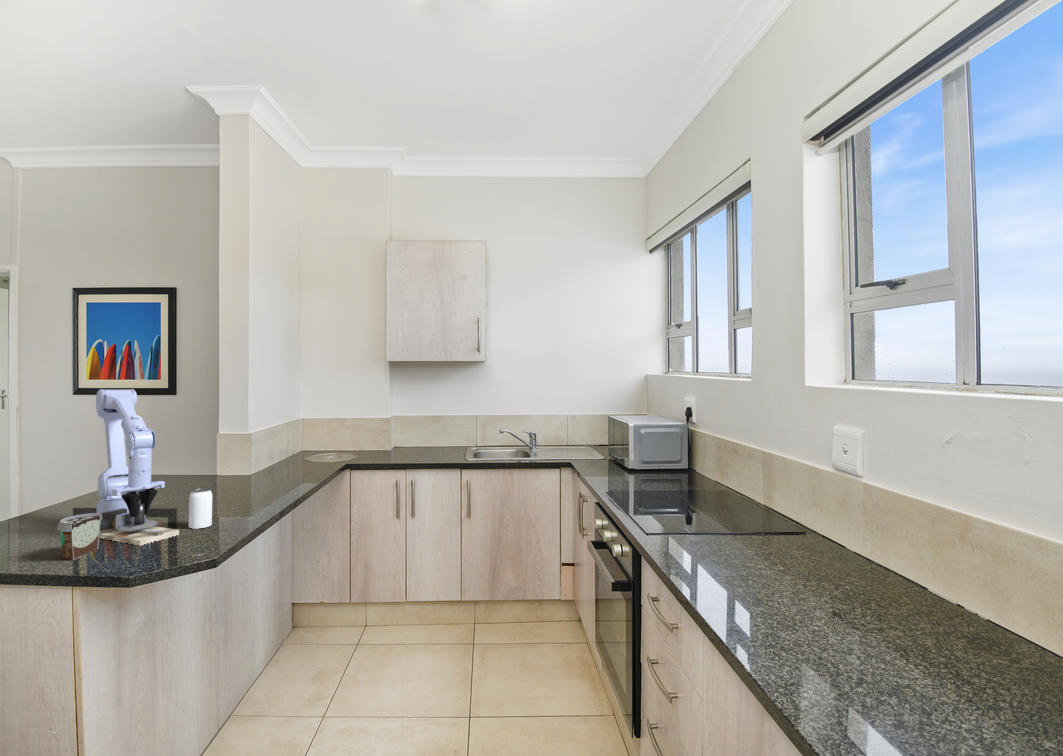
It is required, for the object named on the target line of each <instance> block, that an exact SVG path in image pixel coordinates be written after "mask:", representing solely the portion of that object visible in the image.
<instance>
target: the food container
mask: <svg viewBox="0 0 1063 756" xmlns="http://www.w3.org/2000/svg"><path fill="white" fill-rule="evenodd" d="M101 520H102V515H101V513H97V512H91V513H82V514H75V515H71V516H68V517H67V516H66V517H64V518H62V519H60V521H59V522H58V524H57V528H56V530H57V531H59V533H60V543H61V557H62V559H63V560H64V559H66V560H65V561H70V560H73V561H75V559H76V560H77V558H78V559H80V558H82V557H83V556H82V555H84V554H87V553H89V552H91V551H93V550H96V549H98V550H99V542H100V539H99V534H100V523H101ZM96 551H97V550H96ZM91 553H92V552H91ZM89 554H90V553H89ZM87 555H88V554H87ZM81 556H82V557H81ZM79 557H80V558H79Z"/></svg>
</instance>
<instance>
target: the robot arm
mask: <svg viewBox="0 0 1063 756" xmlns="http://www.w3.org/2000/svg"><path fill="white" fill-rule="evenodd" d="M137 403H138V395H137V392H136V390H135V389H133V388H131V389H102V388H99V390H98V391H96V395H95V406H96V414H97V417H100V418H102V419H103V423H104V430H105V440H106V441H105V442H106V454H107V457H106V458H107V469H105V470H104V471H102V472H101V473H100V474H99V476H97V494H98V497H99V498H101V499H100V500H98V502H97V504H96V513H102V512H107V511H112V510H117V509H121V508H125V509H127V513H128V512H129V513H130V517H137V515H138V504H139V503H145V515H146V516H147V515H148V514H149V511H150V508H151V505H152V503H153V500H154V499H155V497H156V496H157V494H158V490H156V489H163V488H164V489H165V486H166V485H165V483H166V481H164V480H157V481H152V464H153V462H152V461H153V459H152V457H153V449H155V447H156V442H157V441H156V439H157V438H156V434H155V431H154V430H153V429H151V428H148V427H147V425H146V423H145V421H144V419H143V417H142V416H140V415H139V414H138V415H137V413H136V408H135V407H136V405H137ZM126 456H127V457H128V466H127V458H126Z"/></svg>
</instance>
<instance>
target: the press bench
mask: <svg viewBox="0 0 1063 756" xmlns="http://www.w3.org/2000/svg"><path fill="white" fill-rule="evenodd" d="M124 513H127V509H125V508H121V509H117V510H112V511H107V512H102V513H101V515H102V520H101V523H100V534H99V538H102V539H107V540H106V541H108V540H112V541H111V542H114V541H117V542H116V543H120V542H121V544H126V543H128V544H127V545H132V544H133V545H132V546H138V545H139V547H141V546H144V544H145V545H148V544H151V542H152V543H155V542H154V541H156V542H158V541H159V542H160V541H163V540H166V539H170V538H173V537H176V535H177V536H180V529H176V528H175V529H174V528H168V527H162V526H157V525H155V526H151V527H147V528H143V529H139V530H135V531H131V532H129V531H123V530H117V529H116V515H119V514H124ZM172 536H173V537H172ZM169 537H170V538H169ZM102 539H101V540H102ZM162 539H163V540H162ZM147 543H148V544H147Z"/></svg>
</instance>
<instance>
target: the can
mask: <svg viewBox="0 0 1063 756" xmlns="http://www.w3.org/2000/svg"><path fill="white" fill-rule="evenodd" d="M211 490H212V489H211V488H207V487H204V488H203V487H202V488H201V487H200V488H195V489H191V490H190V494H189V496H188V528H189V529H190V528H192V529H191V530H200V529H199V528H205V529H207V528H206V527H208V528H210V527H211V526H213V523H212V522H213V493H212V491H211ZM209 526H210V527H209Z"/></svg>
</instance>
